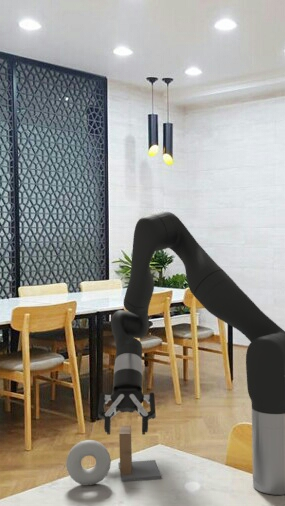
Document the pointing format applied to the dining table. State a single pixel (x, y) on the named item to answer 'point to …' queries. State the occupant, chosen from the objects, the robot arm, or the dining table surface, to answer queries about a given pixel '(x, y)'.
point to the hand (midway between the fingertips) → (126, 433)
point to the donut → (87, 475)
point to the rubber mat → (142, 471)
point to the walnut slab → (125, 450)
